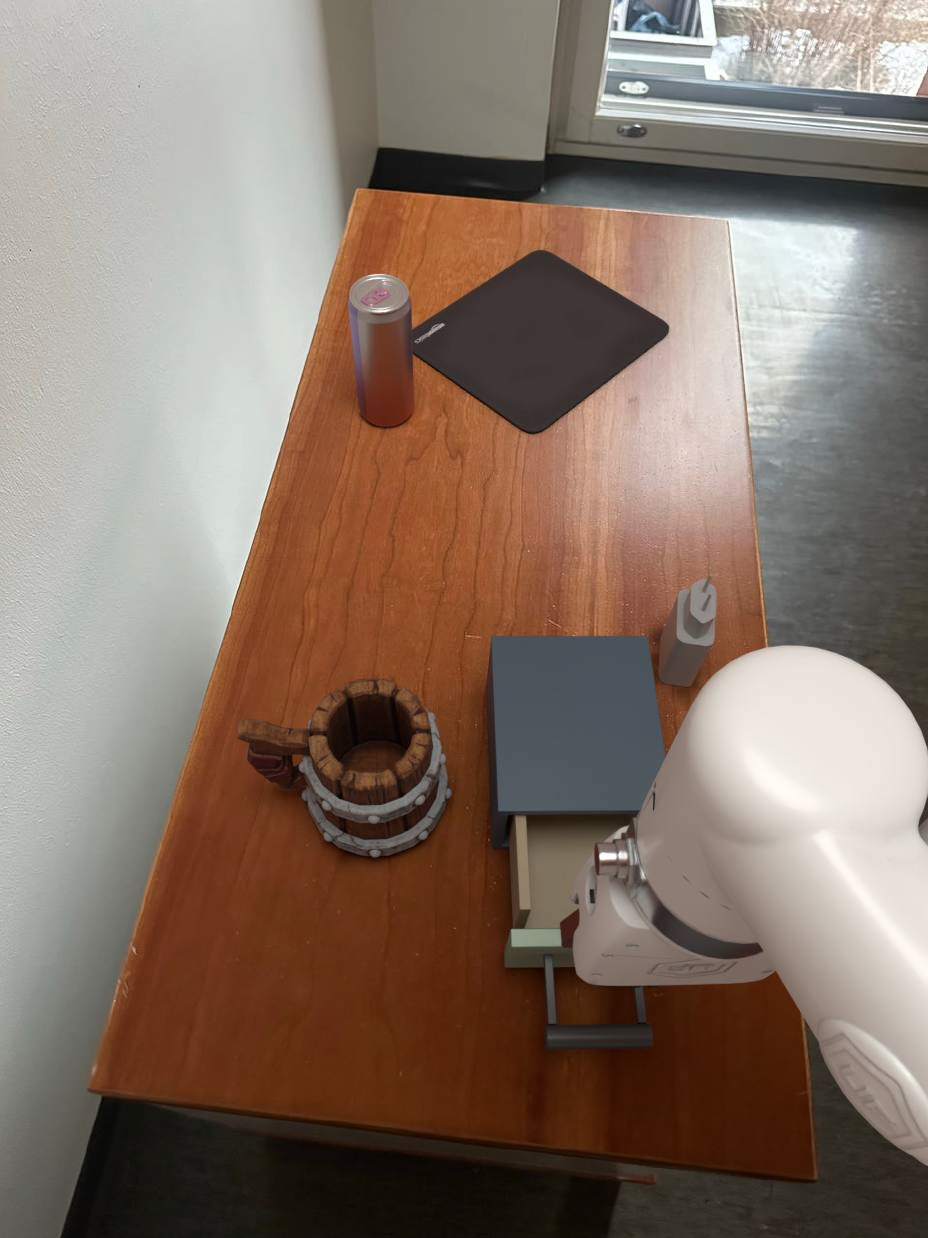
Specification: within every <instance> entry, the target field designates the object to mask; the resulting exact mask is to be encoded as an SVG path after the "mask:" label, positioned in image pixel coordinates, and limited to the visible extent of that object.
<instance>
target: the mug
mask: <svg viewBox="0 0 928 1238" xmlns="http://www.w3.org/2000/svg"><path fill="white" fill-rule="evenodd" d="M237 725H238V727H237V739H238V740H239V741H242V742H245V743H247V744H248V749H247V757H246V761H247V762H248V763H249V764H250V765H251V766H252V767H253V769H254V770H255V771H256V772H257V773H258V774H260V775H262V776H263V777H264V778H265V780H267V781H268V782H270V783H271V784H274V783H275V784H277V785H278V787H279V788H280V790H281V791H285V792H286V791H287V792H295V791H297V790H299V789H302V788H304V787H305V789H304V790H303V791H302V793H301V799H302V800H303V801H305V802H307V809H308V813H309V815H310V816H311V818H312V820H313V822H314V823H315V826H316V827H317V829H318V831H319V833H320V834H322V835H323V839H324V841H326V842H328V843H329V842H330V843H331V842H332V843H333V845H335V846H336V847H337V848H338V849H341V850H344V851H347V852H351V853H354V854H356V855H360V856H362V857H372V858H378V857H380V856H381V857H382V856H391V855H392V856H393V855H394V854H397V853H399V852H402V851H404V850H407V849H410V848H412V847H415V846H416V845H418V843H419V842H421V841H424V840H426V839H427V838H428V836H429V834H430V833H431V832H432V831H434V830H435V827H436V825H437V824H438V822H439V820H440V818H441V817H442V815H443V813H444V811H445V810H446V808H447V807H446V806H447V800H449V799H450V798H451V797H452V795H453V794H452V793H453V791H452V790H451V788H450V781H449V777H448V772H447V767H446V762H447V757H446V754H444V751H443V750H444V749H443V746H442V741H441V737H440V732H439V727H438V725H437V723H436V714H434V713H433V712H431V711H428V709H427V707H426V706H425V705H424V704H423V702H421V700H420V698H419V697H418V695H416V694H415V693H414V692H413V691H411V690H410V689H408V688H407V687H405V686H403V687H402V688H400V689H399V688H398V683H397V682H395V681H392V680H388V679H385V678H381V677H380V678H379V677H377V678H359V679H355V680H353V681H349V682H347V683H345V684H344V689H343V690H341V689H340V688H338V687H337V688H335V689H334V690H332V691H331V692H330V693H328V694H327V695H326V696H324V697H323V698H322V700H321V701H320V703H319V704H318V705H317V707H316V708H315V710H314V711H313V713H312V715H311V719H309V721H307V727H306V728H304V727H303V728H294V727H293V728H292V727H282V726H279V725H277V724H274V723H272V722H269V721H267V720H260V719H254V718H249V717H247V718H245V719H242V720H239V721H238V724H237ZM295 755H296V756H297V755H298V756H302V761H301V762H299V763H297V764H296V765H294V762H293V756H295Z"/></svg>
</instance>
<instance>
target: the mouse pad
mask: <svg viewBox="0 0 928 1238" xmlns="http://www.w3.org/2000/svg"><path fill="white" fill-rule="evenodd" d="M669 331H670V326H669V323H667V322H666V321H665V320H664V319H662V318H661V317H659V316H657V315H656V314H655V313H653V312H651V311H649V310H647V309H646V308H645V307H642V306H641V305H639V304H637V303H636V302H635V301H633V300H631V299H629V298H628V297H626V296H624V295H623V294H621V293H619V292H617V291H616V290H614V289H613V288H611V287H609V286H607V285H606V284H604V283H603V282H601V281H599V280H598V279H596V278H594V277H592V276H591V275H589V274H588V273H586V272H584V271H583V270H581V269H579V268H577V267H576V266H575V265H572V264H571V263H569V262H568V261H566V260H564V259H563V258H562V257H559V256H557V254H555V253H552V252H551V251H548V250H545V249H537V250H533V251H531V252H529V253H528V254H526V255H525V256H523V257H521V258H520V259H518V260H516V261H515V262H514V263H512V264H511V265H509V266H507V267H506V268H504V269H503V270H501V271H499V273H497V274H495V275H493V276H492V277H491V278H489V279H487V280H486V281H484V282H482V283H481V284H480V285H478V286H476V287H475V288H473V289H472V290H470V291H469V292H467V293H466V294H464V295H463V296H461V297H460V298H458V299H457V300H455V301H453V302H452V303H450V304H449V305H448V306H446V307H444V308H443V309H441V310H440V311H438V312H437V313H435V314H433V315H432V316H430V317H428V318H427V319H426V320H424V321H423V322H421V323H420V324H418V325H417V326H415V327H413V328H412V343H413V355H415V356H417V357H418V358H419V359H421V360H422V361H424V362H425V363H426V364H428V365H429V366H430V367H432V368H434V369H435V370H437V371H438V372H439V373H441V374H442V375H443V376H445V377H446V378H448V379H449V380H450V381H452V382H453V383H455V384H456V385H457V386H459V387H460V388H461V389H463V390H465V391H466V392H467V393H469V394H470V395H472V396H473V397H475V398H476V399H477V400H478V401H480V402H481V403H483V404H484V405H486V406H487V407H488V408H490V409H492V410H493V411H494V412H496V413H497V414H499V415H500V416H502V417H503V418H504V419H505V420H507V421H509V422H510V423H511V424H513V425H514V426H516V428H518V429H520V430H521V431H524V432H526V433H530V434H537V433H540V432H542V431H544V430H546V429H547V428H549V427H550V426H551V425H552V424H554V423H555V422H556V421H558V420H559V419H560V418H561V417H563V416H564V415H566V414H568V413H569V412H570V411H571V410H572V409H574V407H576V406H577V405H579V404H580V403H581V402H582V401H583V400H585V399H587V397H589V396H590V395H591V394H593V393H594V392H595V391H596V390H598V389H599V388H601V387H602V386H603V385H605V384H606V383H607V382H609V380H611V379H612V378H614V377H615V376H616V375H617V374H619V373H620V372H621V371H622V370H624V369H625V368H626V367H627V366H629V365H631V364H632V363H633V362H634V361H636V360H637V359H638V358H639V357H641V356H642V355H644V354H645V353H646V352H647V351H648V350H650V349H651V348H652V347H654V346H655V345H656V344H657V343H659V342H660V341H661V340H662V339H663V338H665V337H666V336H667V335H668V333H669Z"/></svg>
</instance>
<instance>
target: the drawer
mask: <svg viewBox="0 0 928 1238" xmlns="http://www.w3.org/2000/svg"><path fill="white" fill-rule="evenodd" d="M637 815H638V814H563V815H508V830H509V849H508V850H509V851H508V852H509V870H510V871H509V872H510V874H509V875H510V895H511V915H512V917H511V918H512V919H511V920H512V928H511V929H510V931H509V934H508V937H507V941H506V944H505V947H504V951H503V954H504V955H503V957H504V968H505V969H511V968H512V969H513V968H516V969H517V968H518V969H520V968H521V969H522V968H523V969H524V968H543V976H544V978H543V979H544V993H545V1008H546V1009H545V1011H546V1024H545V1025H544V1029H543V1036H544V1038H543V1039H544V1047H545V1050H546V1051H568V1050H569V1051H575V1050H577V1051H578V1050H579V1051H580V1050H581V1051H583V1050H586V1051H587V1050H640V1049H642V1050H643V1049H645V1050H647V1049H648V1050H649V1049H650V1050H651V1049H653V1047H654V1033H653V1032H654V1031H653V1028H652V1025H651V1024H650V1023H648V1017H647V1011H646V1002H645V992H644V986H641V987H640V988H632V994H633V1002H634V1013H635V1020H636V1023H593V1024H592V1023H590V1024H585V1023H584V1024H558V1018H557V1017H558V1016H557V1003H556V1002H557V1000H556V988H555V985H556V984H555V972H554V968H575V963H574V957H573V948H564V947H562V945H561V932H560V922H561V921H562V920H564V919H565V918H566V917H568V916H569V915H570V914H572V913H573V912H574V911H576V910H577V909H578V908H579V904H575V902H572V901H571V900H570V890H571V887H572V885H573V882H574V880H575V878H576V876H577V875H578V873H579V871H580V869H581V868H582V866H583V865H584V863H585V862H586V861H587V859H588V858H589V857H590V856H591V854H592V853H593V852H594V848H595V843H598V842H604V841H605V840H606V839H607V838H609V837H610V836H611V835H612V834H614V833H615V832H616V831H617V830H619V829H620V828H622V827H625V826H628V825H630V823H631V820H632V818H636V817H637Z"/></svg>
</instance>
